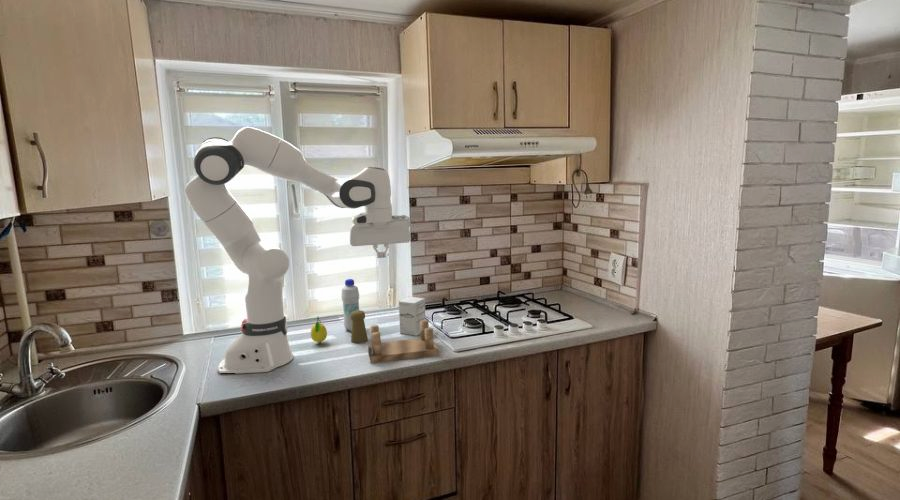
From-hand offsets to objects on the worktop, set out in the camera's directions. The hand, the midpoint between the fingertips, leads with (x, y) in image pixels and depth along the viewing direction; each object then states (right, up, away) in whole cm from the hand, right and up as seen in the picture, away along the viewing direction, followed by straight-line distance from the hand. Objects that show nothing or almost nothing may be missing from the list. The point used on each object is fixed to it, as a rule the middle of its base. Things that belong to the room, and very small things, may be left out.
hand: (381, 257), depth 159 cm
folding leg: (-1, -30, -5) cm, 31 cm away
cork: (-10, -30, +11) cm, 34 cm away
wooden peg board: (+7, -32, -2) cm, 32 cm away
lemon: (-24, -31, +10) cm, 40 cm away
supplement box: (+9, -28, +18) cm, 35 cm away
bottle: (-14, -28, +23) cm, 39 cm away
